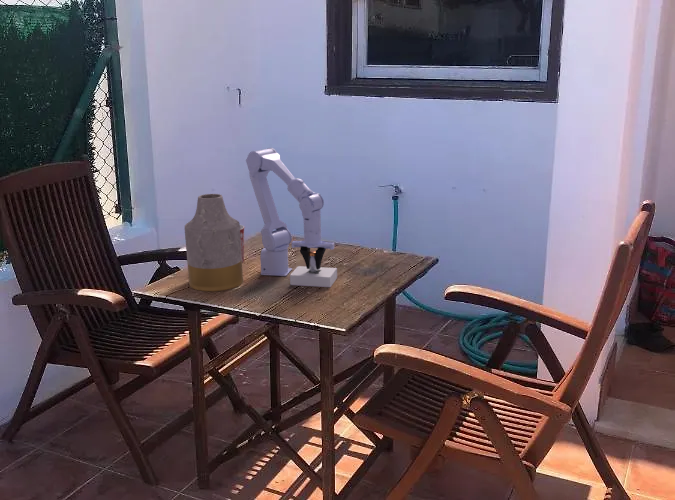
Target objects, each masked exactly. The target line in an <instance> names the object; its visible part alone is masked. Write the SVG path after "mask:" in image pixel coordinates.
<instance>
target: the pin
mask: <svg viewBox="0 0 675 500" xmlns="http://www.w3.org/2000/svg"><path fill="white" fill-rule="evenodd" d="M308 254H309V273H312V274H318V269H317V257H316V250H310V251H309V252H308Z"/></svg>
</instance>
